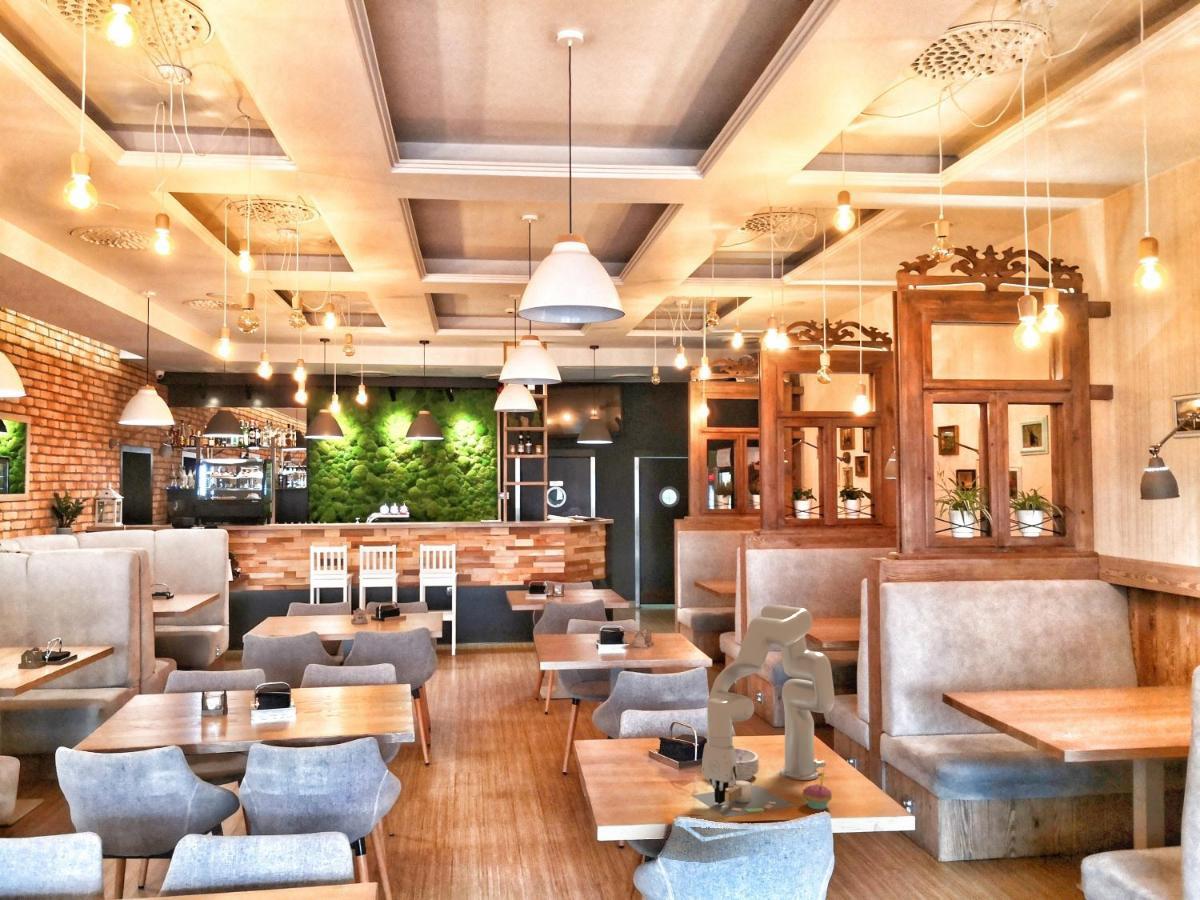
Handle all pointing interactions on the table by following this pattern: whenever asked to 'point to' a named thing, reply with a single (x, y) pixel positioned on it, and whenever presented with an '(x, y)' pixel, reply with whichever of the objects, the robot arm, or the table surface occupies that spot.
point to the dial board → (758, 803)
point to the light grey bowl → (746, 764)
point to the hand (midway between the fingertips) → (720, 801)
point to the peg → (739, 792)
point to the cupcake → (817, 795)
